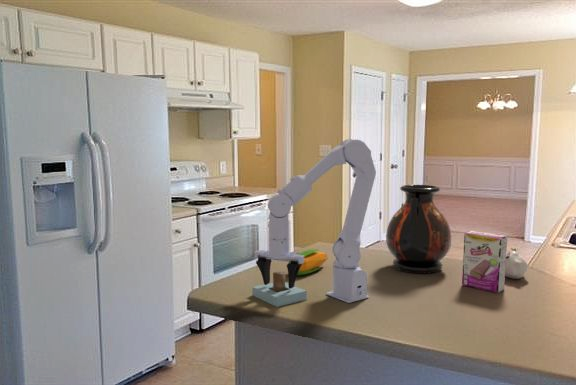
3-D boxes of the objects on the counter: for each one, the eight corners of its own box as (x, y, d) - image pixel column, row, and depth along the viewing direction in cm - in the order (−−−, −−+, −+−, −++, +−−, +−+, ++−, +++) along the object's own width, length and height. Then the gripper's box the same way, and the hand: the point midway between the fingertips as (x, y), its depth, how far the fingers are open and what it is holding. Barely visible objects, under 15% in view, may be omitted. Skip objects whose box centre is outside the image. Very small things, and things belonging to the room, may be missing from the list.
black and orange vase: (394, 257, 187) (396, 182, 184) (454, 264, 178) (458, 185, 175) (377, 271, 168) (379, 188, 165) (444, 280, 159) (448, 191, 155)
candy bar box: (461, 285, 153) (463, 232, 151) (468, 282, 157) (470, 230, 155) (498, 293, 146) (501, 237, 144) (505, 290, 149) (508, 235, 147)
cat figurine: (507, 242, 170) (515, 247, 155) (529, 256, 168) (539, 262, 153) (490, 265, 171) (496, 272, 156) (512, 279, 169) (520, 288, 155)
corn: (282, 252, 162) (317, 242, 178) (280, 275, 164) (316, 262, 179) (300, 258, 158) (335, 246, 174) (299, 281, 159) (333, 267, 175)
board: (306, 299, 140) (306, 290, 140) (277, 307, 134) (277, 297, 134) (280, 288, 150) (280, 280, 150) (252, 295, 144) (252, 286, 144)
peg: (287, 296, 143) (287, 272, 142) (282, 300, 140) (282, 275, 139) (276, 294, 144) (276, 270, 144) (271, 298, 141) (271, 274, 140)
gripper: (308, 237, 141) (308, 285, 142) (262, 233, 147) (262, 278, 148) (298, 242, 134) (298, 292, 136) (250, 237, 140) (251, 285, 142)
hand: (279, 285), depth 142 cm, fingers open, 7 cm apart
